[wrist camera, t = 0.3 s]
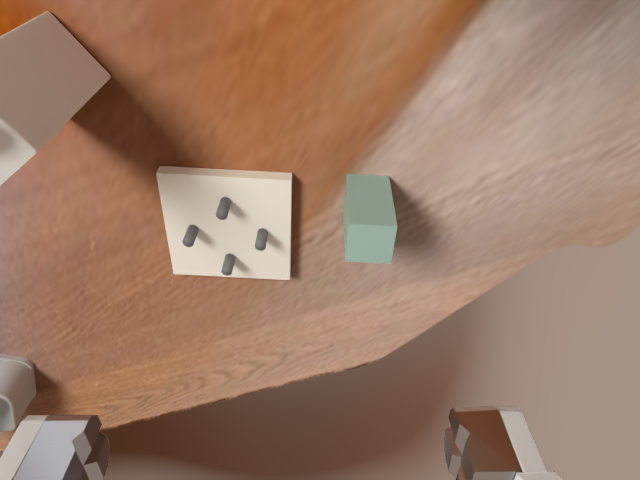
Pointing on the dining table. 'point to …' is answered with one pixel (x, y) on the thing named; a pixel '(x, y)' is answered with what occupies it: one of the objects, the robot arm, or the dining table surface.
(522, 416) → the robot arm
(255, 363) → the dining table surface
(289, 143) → the dining table surface
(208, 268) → the peg board
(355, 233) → the block
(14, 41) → the milk carton
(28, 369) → the grey mounting bracket
